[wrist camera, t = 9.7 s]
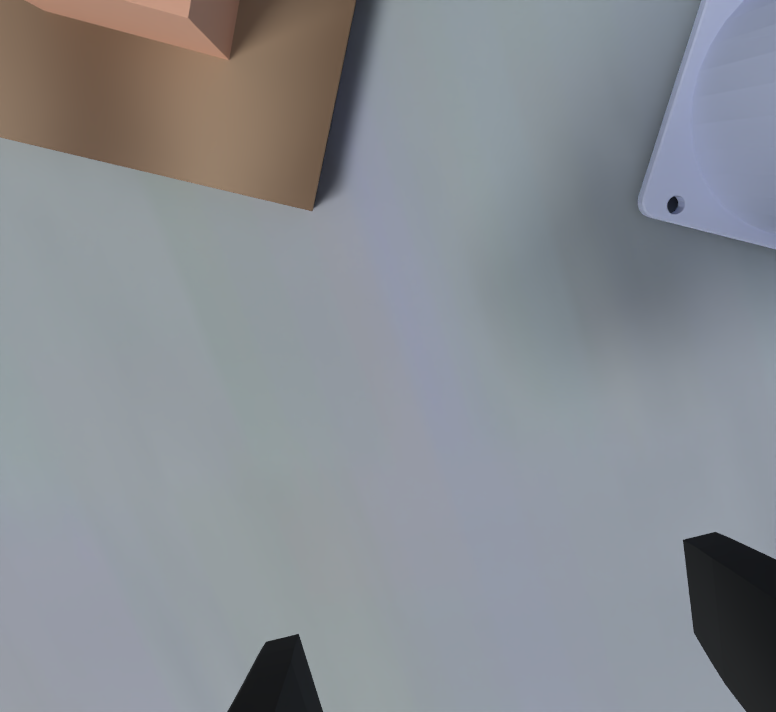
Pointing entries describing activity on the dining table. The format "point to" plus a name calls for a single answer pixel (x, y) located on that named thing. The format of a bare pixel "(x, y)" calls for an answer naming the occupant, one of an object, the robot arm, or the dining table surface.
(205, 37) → the terracotta block
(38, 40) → the walnut pad
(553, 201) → the dining table surface
